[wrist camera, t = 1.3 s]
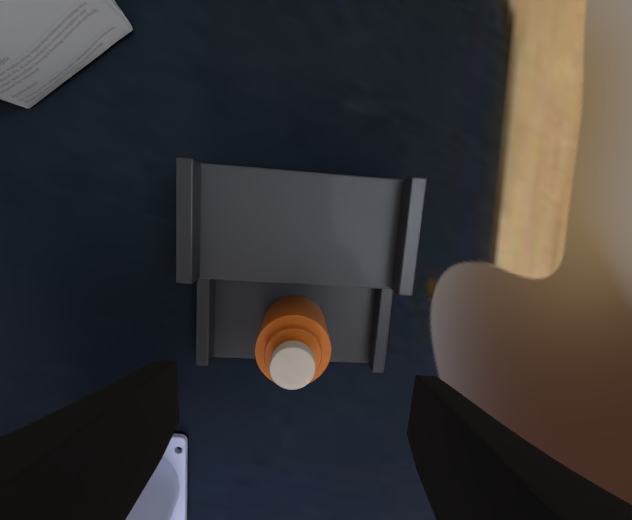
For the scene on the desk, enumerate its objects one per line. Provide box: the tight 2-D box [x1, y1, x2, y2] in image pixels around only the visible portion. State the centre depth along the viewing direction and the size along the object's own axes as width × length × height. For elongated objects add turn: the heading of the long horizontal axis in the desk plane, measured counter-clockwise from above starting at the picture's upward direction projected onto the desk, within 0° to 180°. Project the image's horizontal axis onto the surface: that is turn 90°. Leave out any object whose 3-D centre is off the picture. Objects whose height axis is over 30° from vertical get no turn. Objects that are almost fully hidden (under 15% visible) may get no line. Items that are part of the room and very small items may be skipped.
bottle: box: [255, 296, 331, 390], centre depth 17 cm, size 4×4×6 cm
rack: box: [176, 157, 427, 373], centre depth 17 cm, size 12×12×5 cm
